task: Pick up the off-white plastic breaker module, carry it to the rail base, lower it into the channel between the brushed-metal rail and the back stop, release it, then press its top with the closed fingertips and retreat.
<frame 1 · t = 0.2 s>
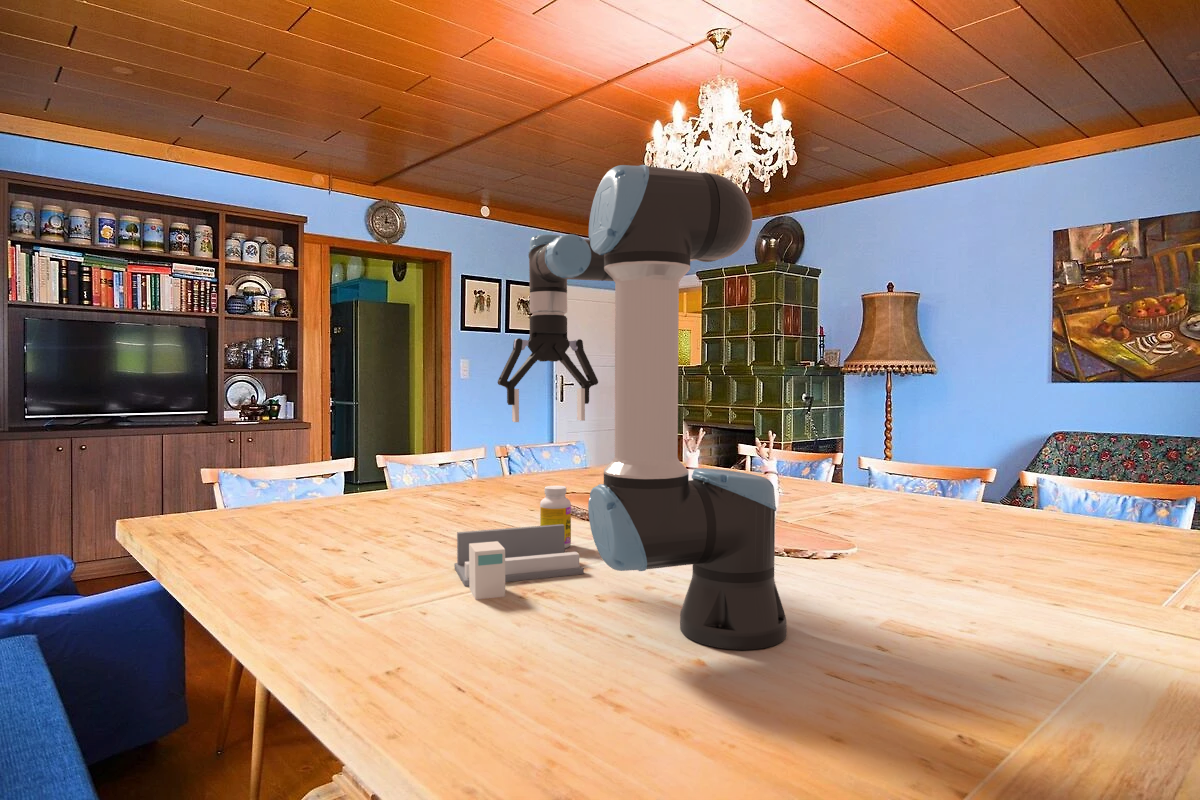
hand: (548, 421, 143), 28 cm above the table, fingers open, 13 cm apart
supplement bottle: (555, 547, 154), on the table
module: (487, 592, 121), on the table
rail base: (518, 571, 135), on the table
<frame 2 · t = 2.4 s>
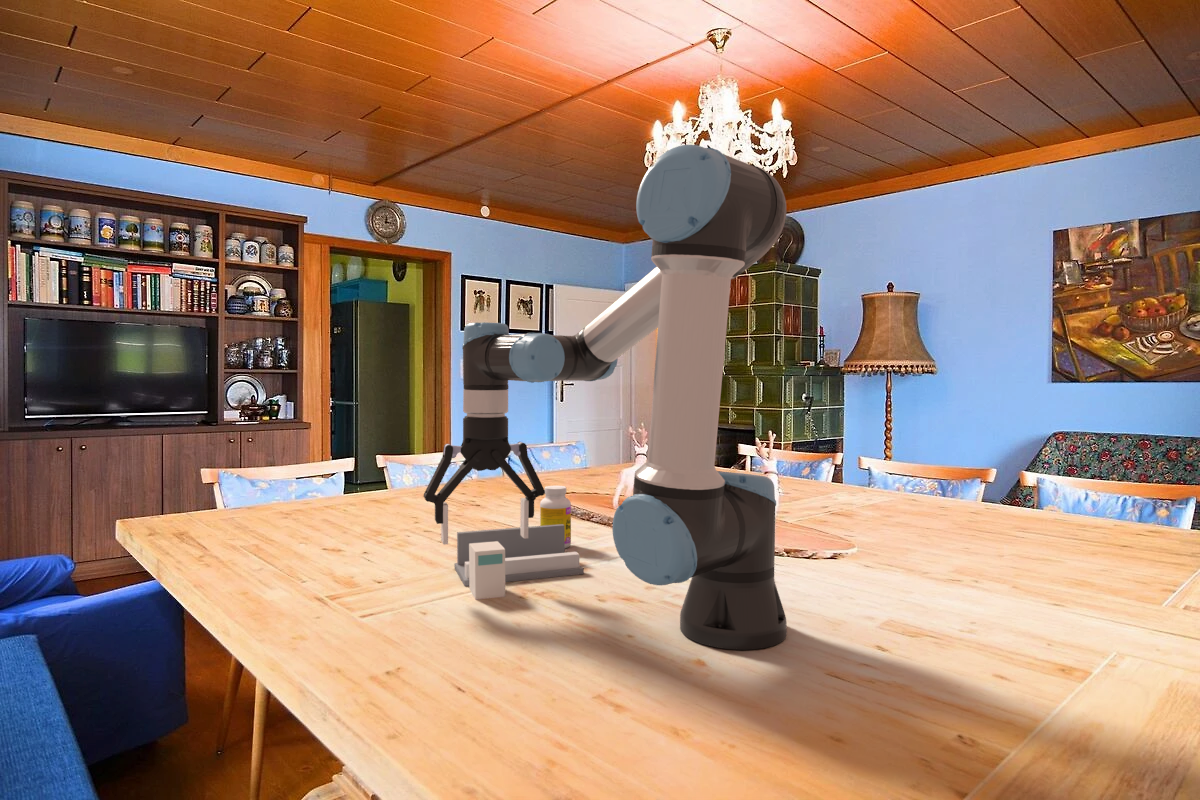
hand: (485, 539, 121), 9 cm above the table, fingers open, 13 cm apart
nothing on the table moved.
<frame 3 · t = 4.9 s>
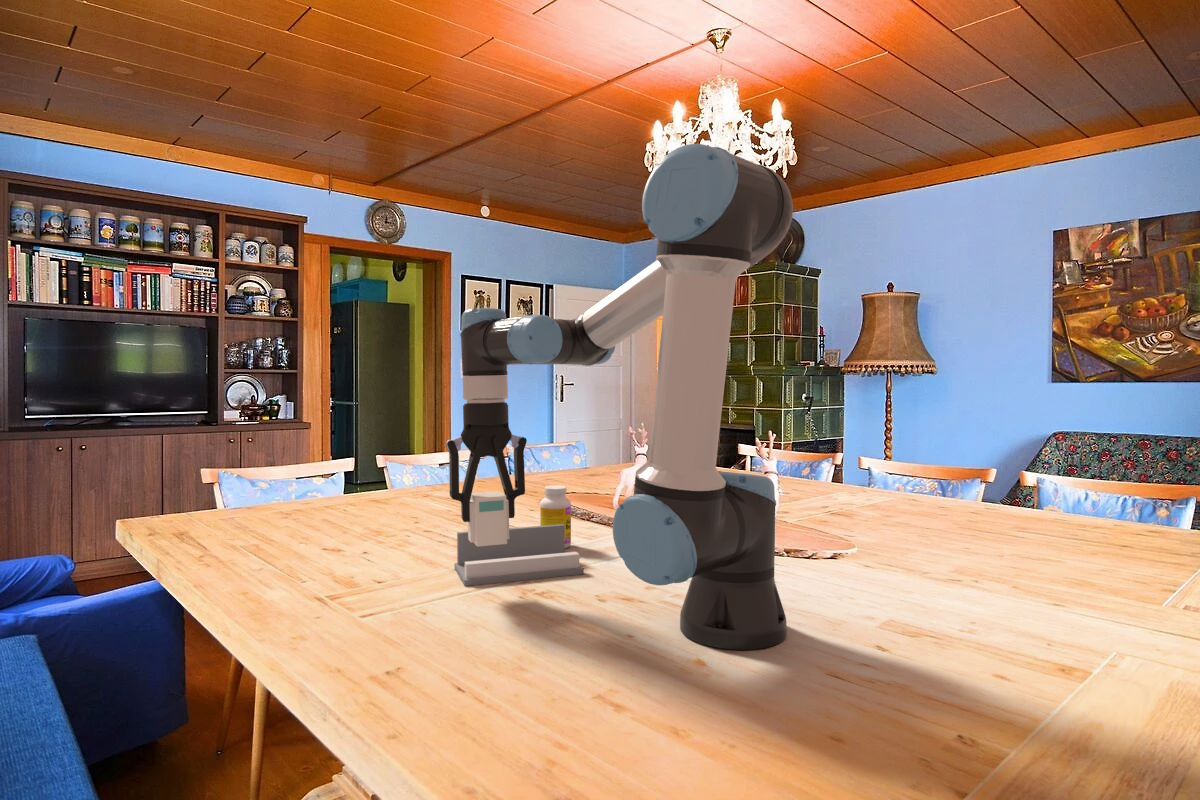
hand: (488, 538, 121), 9 cm above the table, fingers closed on module, 5 cm apart
module: (488, 541, 121), point 9 cm above the table, touching gripper
everything else where it was.
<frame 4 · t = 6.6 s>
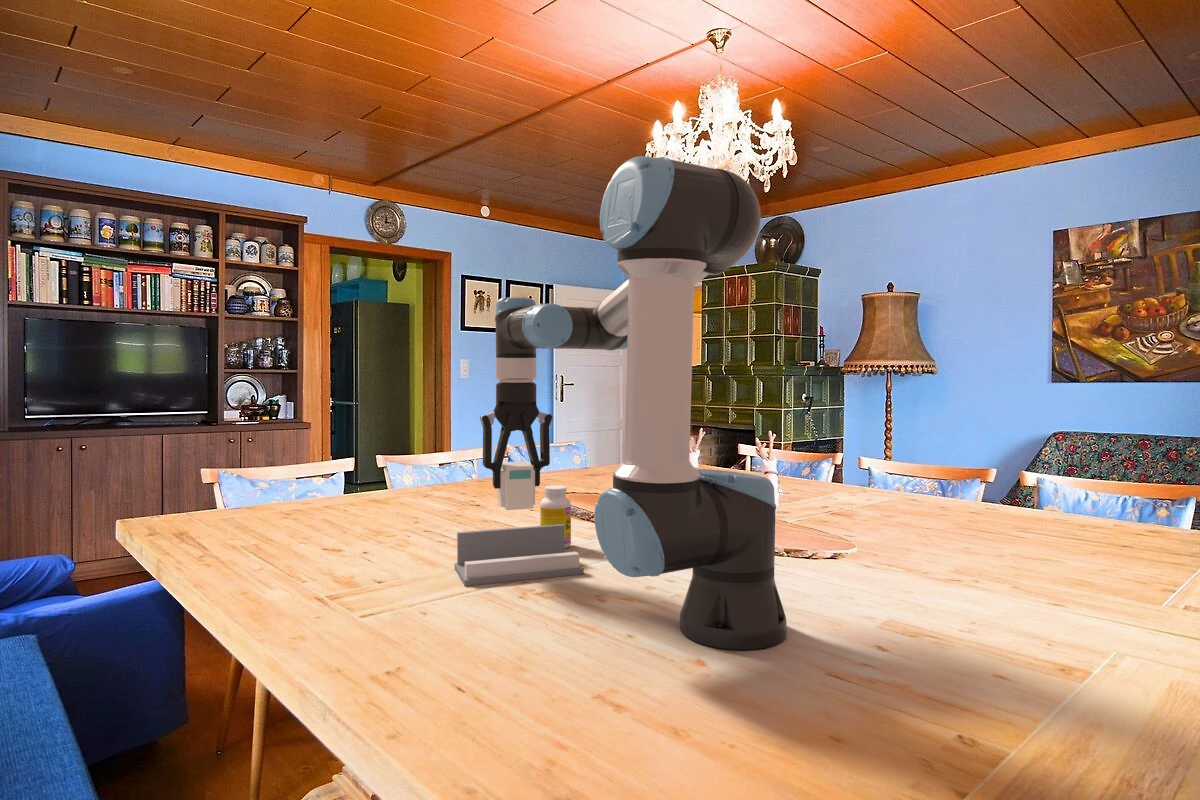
hand: (516, 504, 135), 13 cm above the table, fingers closed on module, 5 cm apart
module: (516, 506, 135), point 12 cm above the table, touching gripper
everything else where it was.
when the fingers open (1 cm above the table, at t = 8.4 s): module stays where it is, resting on rail base.
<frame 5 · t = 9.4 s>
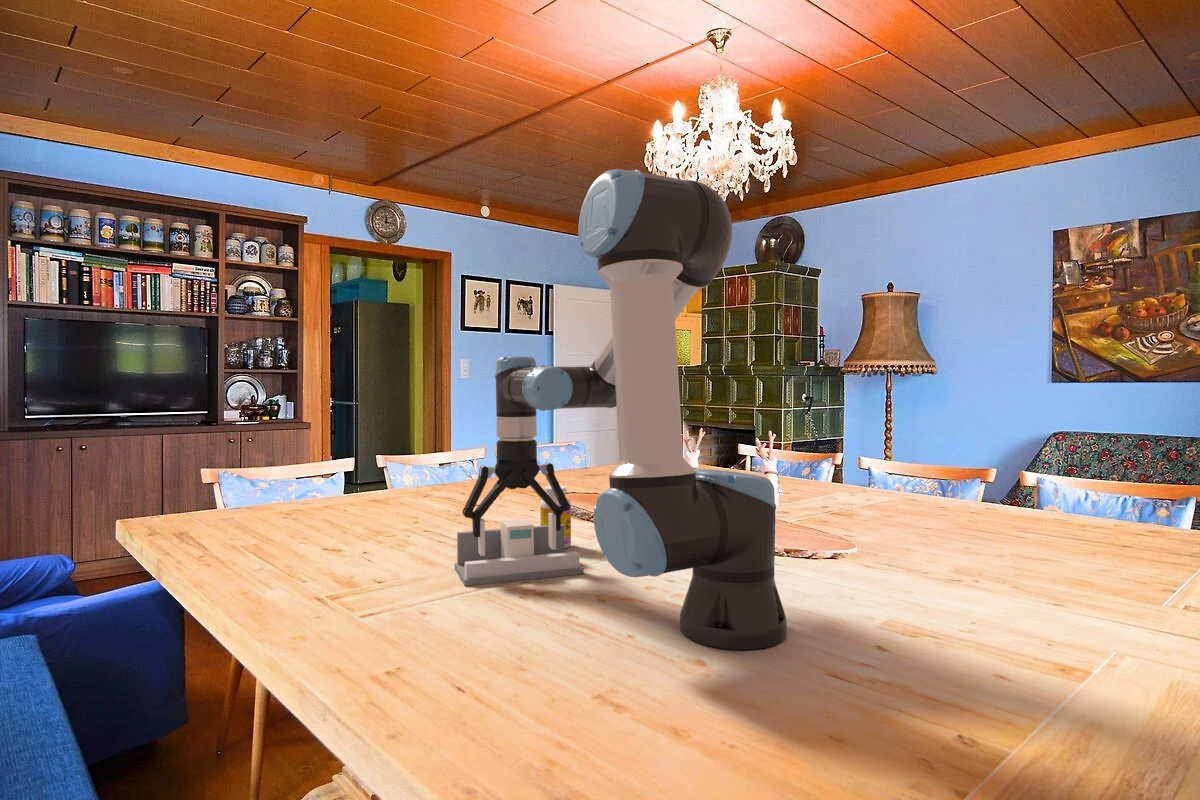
hand: (517, 551, 135), 4 cm above the table, fingers open, 13 cm apart
module: (517, 564, 135), point 1 cm above the table, touching rail base
everything else where it was.
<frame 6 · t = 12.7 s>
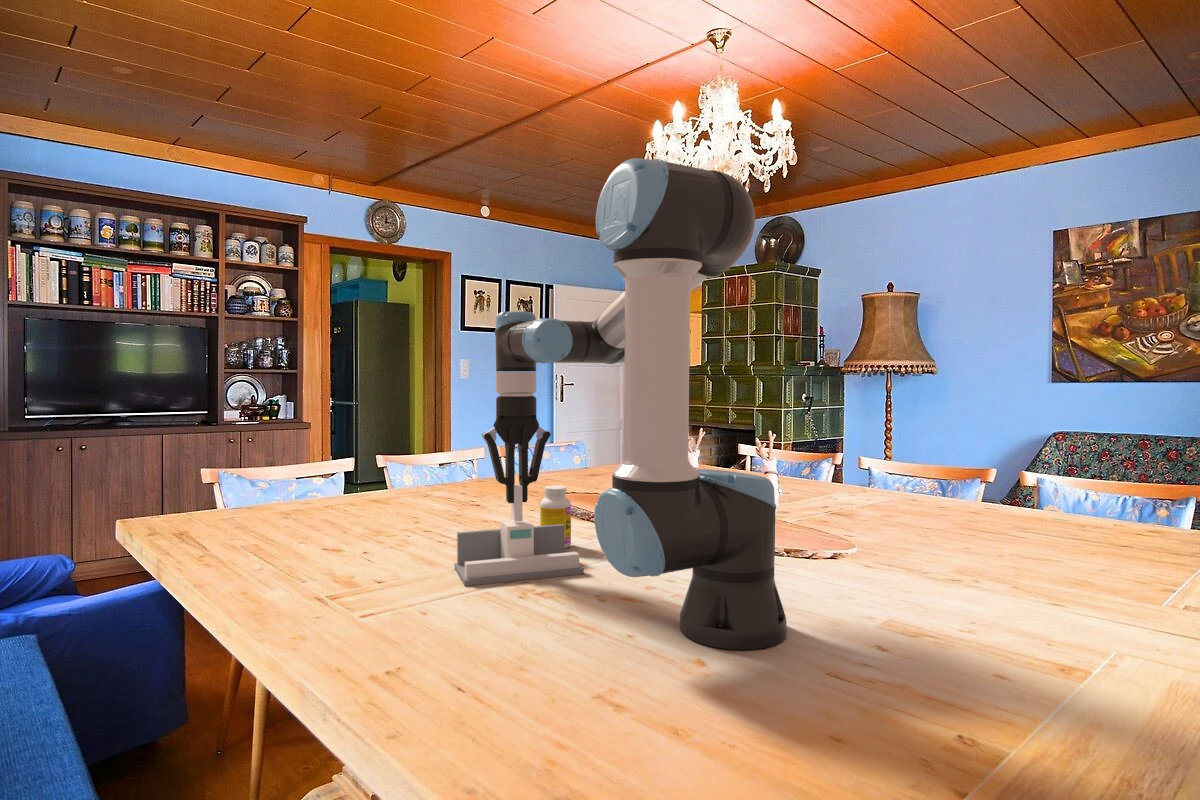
hand: (517, 519, 135), 10 cm above the table, fingers closed
nothing on the table moved.
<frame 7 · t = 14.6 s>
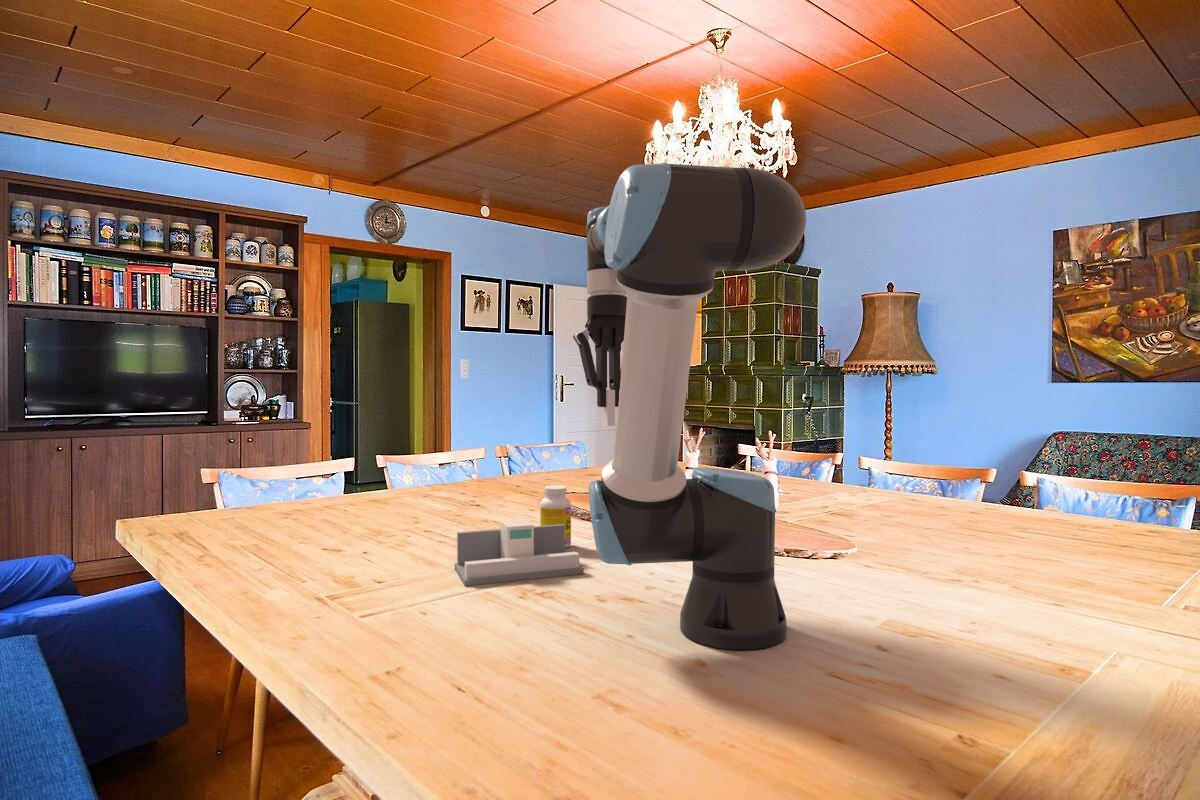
hand: (608, 425, 130), 28 cm above the table, fingers closed
nothing on the table moved.
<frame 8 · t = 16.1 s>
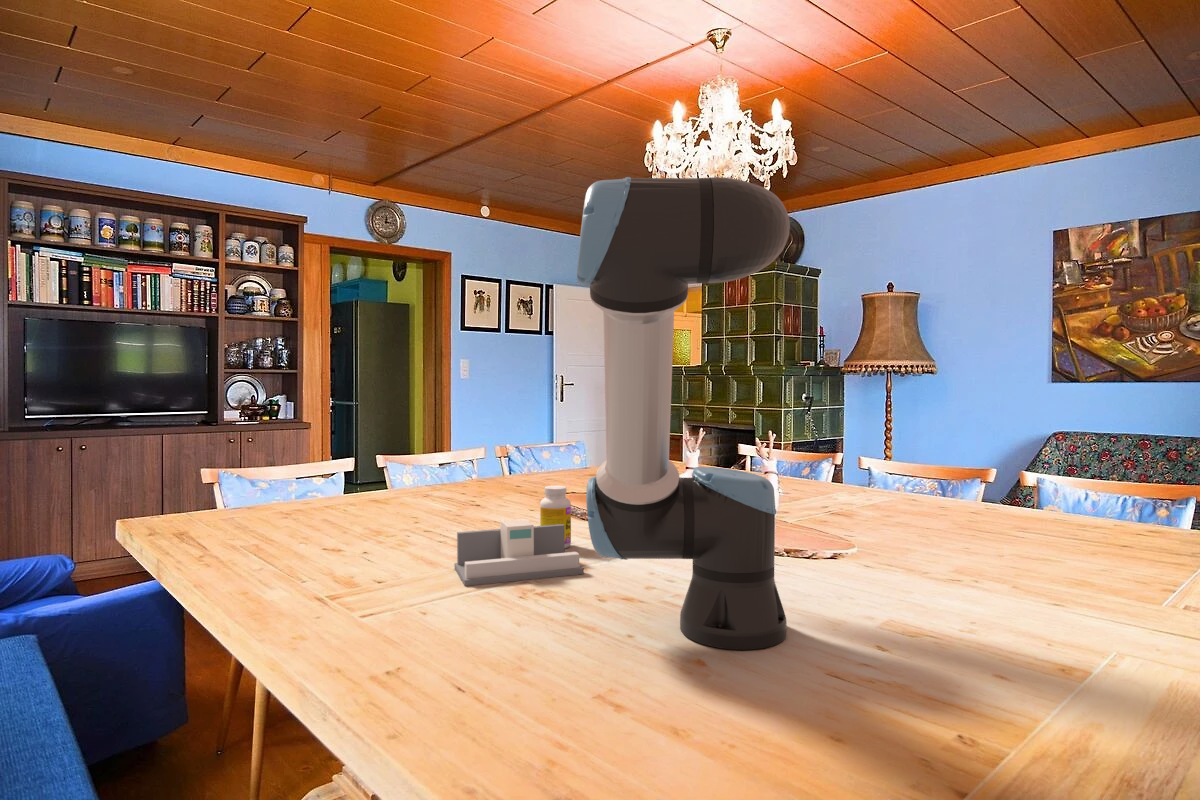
hand: (639, 416, 130), 29 cm above the table, fingers closed
nothing on the table moved.
at the end: module inside the target area on the rail base (0.2 cm from its centre), point 1.0 cm above the rail base's base; module tilted 0°; the gripper is holding nothing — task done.
